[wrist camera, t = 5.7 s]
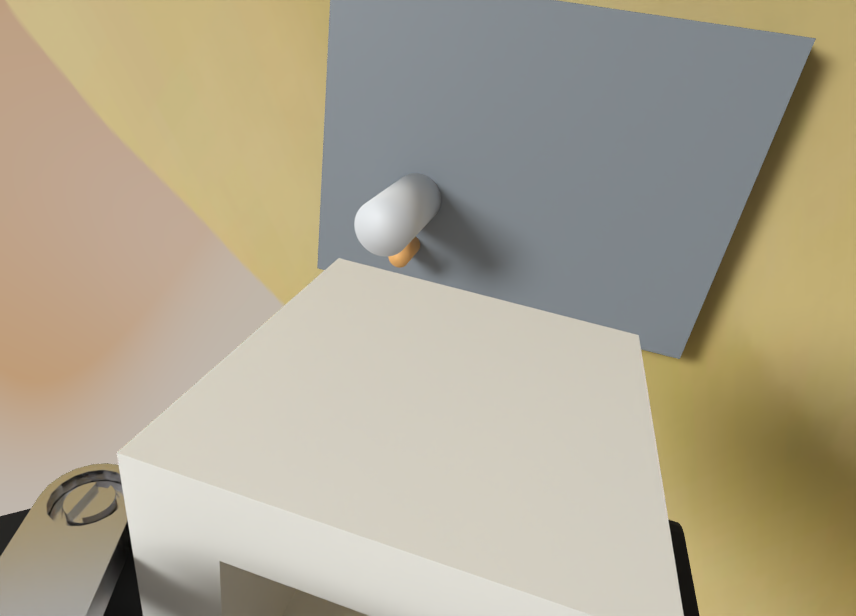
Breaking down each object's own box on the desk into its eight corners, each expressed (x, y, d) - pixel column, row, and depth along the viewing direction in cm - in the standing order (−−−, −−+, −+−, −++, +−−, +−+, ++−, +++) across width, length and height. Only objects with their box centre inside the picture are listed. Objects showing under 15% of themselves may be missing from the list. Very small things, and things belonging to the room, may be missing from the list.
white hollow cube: (338, 257, 11) (116, 452, 6) (638, 334, 10) (688, 647, 5) (321, 471, 14) (161, 730, 9) (554, 547, 13) (529, 888, 8)
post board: (675, 344, 28) (696, 421, 22) (329, 258, 31) (269, 306, 25) (802, 38, 21) (877, 37, 15) (345, -29, 24) (271, -50, 19)
